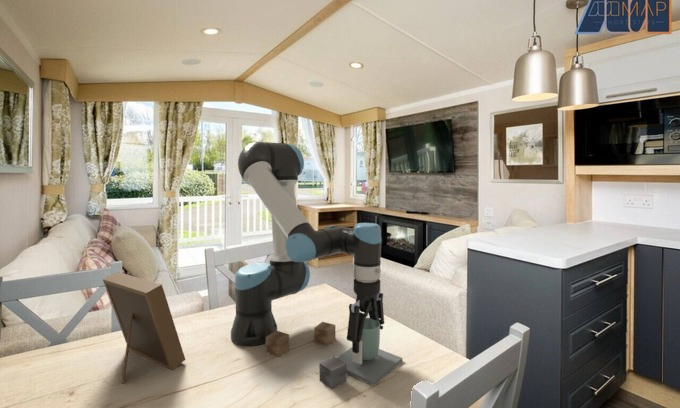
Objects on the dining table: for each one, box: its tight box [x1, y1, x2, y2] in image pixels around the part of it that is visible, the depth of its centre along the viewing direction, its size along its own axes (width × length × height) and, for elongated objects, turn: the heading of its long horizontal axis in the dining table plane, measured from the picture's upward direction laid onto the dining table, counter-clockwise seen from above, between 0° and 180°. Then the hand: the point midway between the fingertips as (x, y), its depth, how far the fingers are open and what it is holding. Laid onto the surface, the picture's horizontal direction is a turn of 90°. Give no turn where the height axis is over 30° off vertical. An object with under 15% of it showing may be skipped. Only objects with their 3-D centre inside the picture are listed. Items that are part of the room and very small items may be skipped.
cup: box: [361, 317, 381, 360], centre depth 99 cm, size 8×8×10 cm
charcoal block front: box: [319, 356, 347, 390], centre depth 91 cm, size 5×5×5 cm
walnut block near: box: [265, 330, 290, 358], centre depth 106 cm, size 5×5×5 cm
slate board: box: [335, 347, 403, 387], centre depth 99 cm, size 15×15×1 cm
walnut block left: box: [313, 321, 336, 347], centre depth 112 cm, size 5×5×5 cm
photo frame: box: [102, 271, 186, 385], centre depth 97 cm, size 15×22×25 cm
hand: (366, 355), depth 99 cm, fingers closed on cup, 8 cm apart
